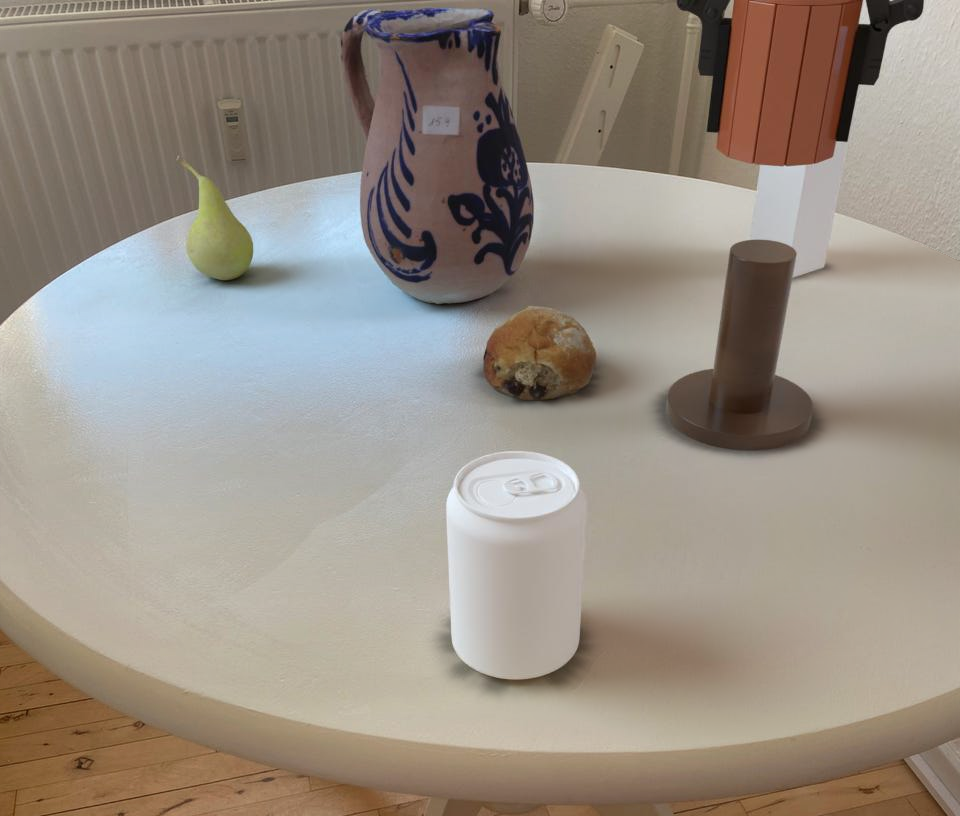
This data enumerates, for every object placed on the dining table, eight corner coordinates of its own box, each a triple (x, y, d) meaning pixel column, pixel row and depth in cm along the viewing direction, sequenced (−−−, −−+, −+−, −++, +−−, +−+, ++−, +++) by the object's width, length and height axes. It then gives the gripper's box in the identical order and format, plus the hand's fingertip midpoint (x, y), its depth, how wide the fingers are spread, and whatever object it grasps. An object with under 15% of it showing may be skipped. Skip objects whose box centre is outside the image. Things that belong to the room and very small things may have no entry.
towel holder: (814, 392, 93) (847, 231, 84) (804, 460, 84) (840, 288, 75) (677, 375, 96) (696, 217, 87) (654, 440, 87) (672, 272, 78)
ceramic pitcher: (480, 336, 102) (475, 46, 86) (305, 296, 111) (271, 23, 94) (561, 275, 114) (570, 8, 98) (397, 242, 122) (380, -9, 106)
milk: (824, 268, 114) (871, 38, 100) (785, 281, 112) (829, 47, 98) (781, 251, 118) (821, 27, 104) (743, 264, 116) (779, 35, 101)
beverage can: (436, 619, 70) (428, 460, 62) (551, 594, 71) (557, 437, 64) (474, 699, 64) (470, 535, 56) (598, 670, 66) (611, 507, 58)
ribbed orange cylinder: (837, 137, 76) (868, -26, 70) (830, 170, 70) (863, -4, 64) (725, 129, 78) (745, -30, 72) (709, 161, 72) (729, -9, 66)
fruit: (228, 295, 111) (207, 175, 103) (175, 281, 114) (151, 164, 106) (269, 274, 115) (252, 157, 108) (218, 261, 118) (198, 147, 111)
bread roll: (601, 419, 97) (631, 333, 94) (533, 412, 89) (564, 317, 86) (522, 385, 102) (548, 302, 99) (452, 375, 94) (477, 284, 92)
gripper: (647, -305, 59) (618, 135, 73) (1056, -317, 53) (936, 159, 68) (671, -302, 64) (640, 107, 79) (1044, -312, 59) (936, 127, 74)
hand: (777, 131), depth 73 cm, fingers closed on ribbed orange cylinder, 8 cm apart
